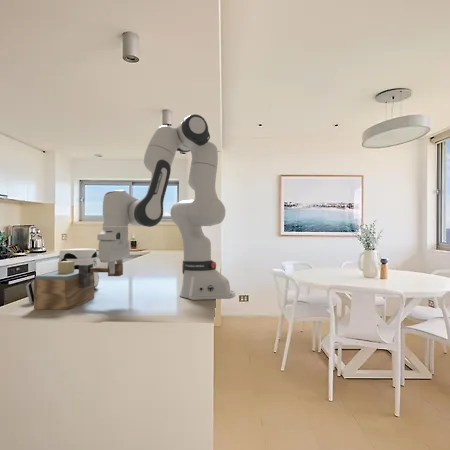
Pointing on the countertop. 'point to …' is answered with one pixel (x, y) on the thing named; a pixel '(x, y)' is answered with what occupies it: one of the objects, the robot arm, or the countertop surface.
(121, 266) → the wooden mallet
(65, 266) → the lid
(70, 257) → the milk container
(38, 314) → the countertop surface
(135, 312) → the countertop surface
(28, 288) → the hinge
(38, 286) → the box
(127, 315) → the countertop surface
